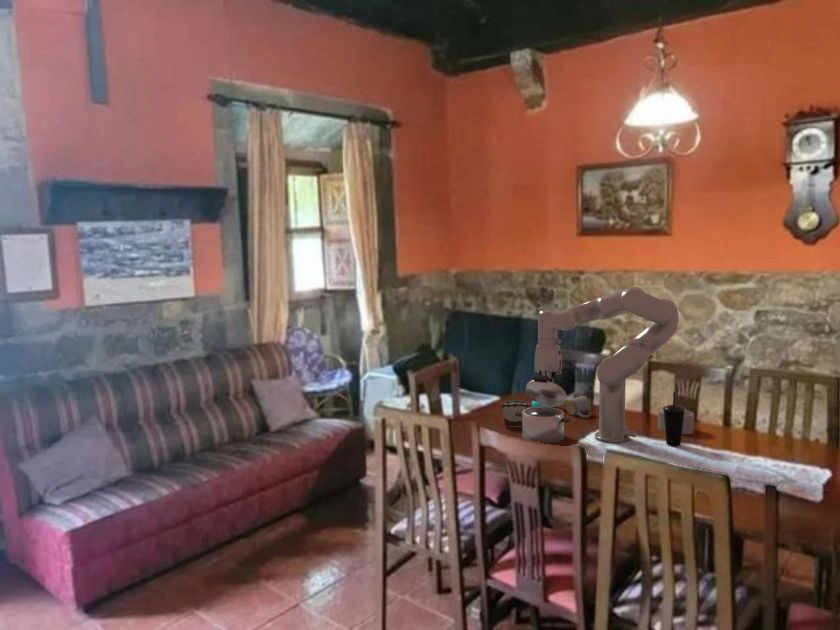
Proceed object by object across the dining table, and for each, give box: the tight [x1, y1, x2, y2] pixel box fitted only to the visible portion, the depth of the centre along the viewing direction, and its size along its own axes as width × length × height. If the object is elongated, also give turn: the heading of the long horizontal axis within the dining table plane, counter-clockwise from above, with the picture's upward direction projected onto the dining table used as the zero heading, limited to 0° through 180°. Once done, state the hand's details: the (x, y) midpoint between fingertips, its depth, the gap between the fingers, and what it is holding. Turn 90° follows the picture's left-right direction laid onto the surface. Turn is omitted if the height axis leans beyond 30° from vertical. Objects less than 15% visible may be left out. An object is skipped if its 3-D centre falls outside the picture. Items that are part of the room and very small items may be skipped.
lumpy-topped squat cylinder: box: [657, 406, 695, 435], centre depth 261 cm, size 10×13×9 cm
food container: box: [500, 399, 532, 428], centre depth 274 cm, size 12×6×10 cm, turn 84°
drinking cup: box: [662, 390, 686, 447], centre depth 243 cm, size 8×8×20 cm
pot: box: [515, 406, 573, 444], centre depth 256 cm, size 22×16×10 cm
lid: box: [524, 375, 567, 408], centre depth 257 cm, size 16×18×3 cm
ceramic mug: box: [565, 395, 592, 419], centre depth 286 cm, size 11×8×8 cm
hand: (547, 387), depth 260 cm, fingers closed
